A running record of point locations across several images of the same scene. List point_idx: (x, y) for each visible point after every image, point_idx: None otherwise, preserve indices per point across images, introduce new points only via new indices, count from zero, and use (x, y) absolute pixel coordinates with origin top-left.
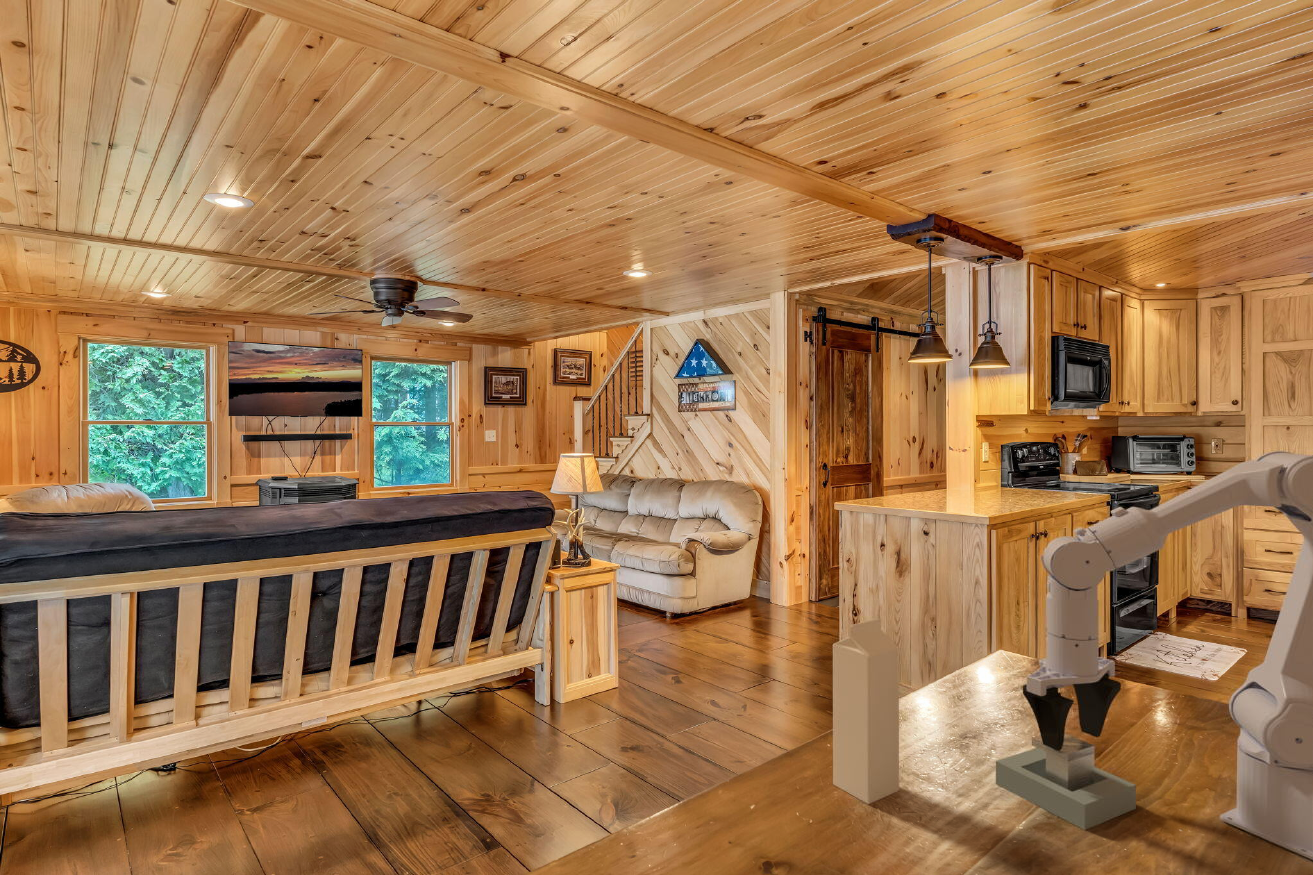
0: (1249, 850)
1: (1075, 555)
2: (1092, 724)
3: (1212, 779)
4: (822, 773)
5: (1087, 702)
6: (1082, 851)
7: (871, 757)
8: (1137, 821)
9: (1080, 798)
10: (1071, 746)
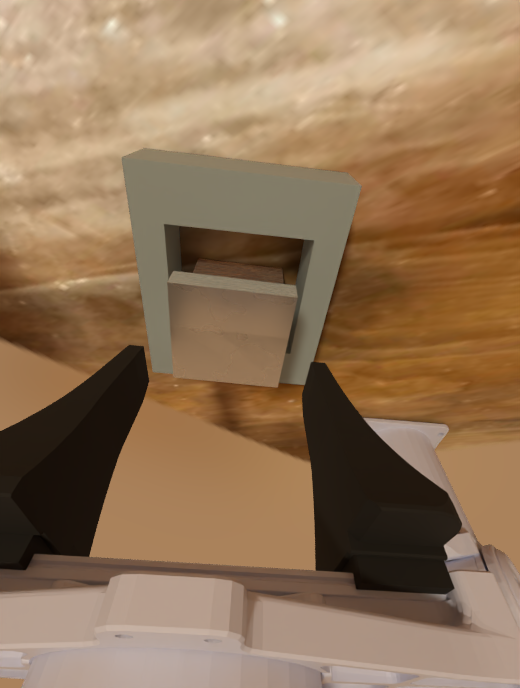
0: (307, 443)
1: None
2: (309, 409)
3: (512, 378)
4: None
5: (324, 455)
6: None
7: None
8: None
9: (166, 359)
10: (221, 364)
